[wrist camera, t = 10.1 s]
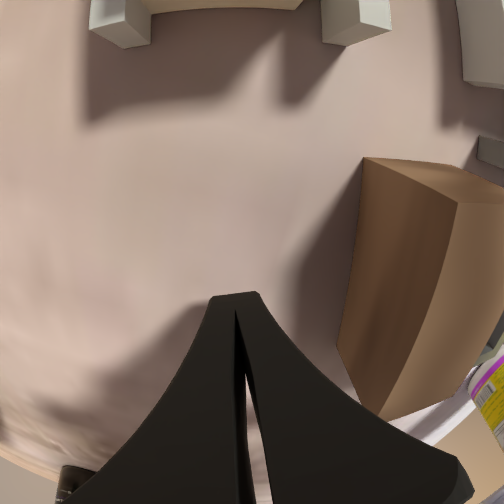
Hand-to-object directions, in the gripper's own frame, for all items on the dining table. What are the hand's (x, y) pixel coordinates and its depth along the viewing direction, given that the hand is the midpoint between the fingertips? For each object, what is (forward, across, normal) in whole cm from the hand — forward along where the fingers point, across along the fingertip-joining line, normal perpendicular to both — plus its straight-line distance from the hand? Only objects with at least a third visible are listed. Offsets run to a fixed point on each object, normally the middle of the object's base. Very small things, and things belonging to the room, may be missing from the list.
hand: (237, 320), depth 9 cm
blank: (+2, -6, 0) cm, 6 cm away
